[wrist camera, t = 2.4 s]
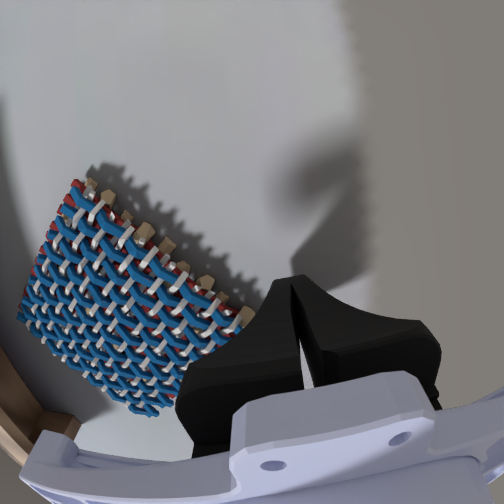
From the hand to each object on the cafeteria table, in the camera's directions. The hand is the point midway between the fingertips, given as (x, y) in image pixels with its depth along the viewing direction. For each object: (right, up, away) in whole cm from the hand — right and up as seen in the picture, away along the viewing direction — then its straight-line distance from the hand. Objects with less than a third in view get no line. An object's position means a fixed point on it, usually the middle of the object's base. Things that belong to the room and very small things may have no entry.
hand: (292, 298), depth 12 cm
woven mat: (-8, -1, +2) cm, 9 cm away
